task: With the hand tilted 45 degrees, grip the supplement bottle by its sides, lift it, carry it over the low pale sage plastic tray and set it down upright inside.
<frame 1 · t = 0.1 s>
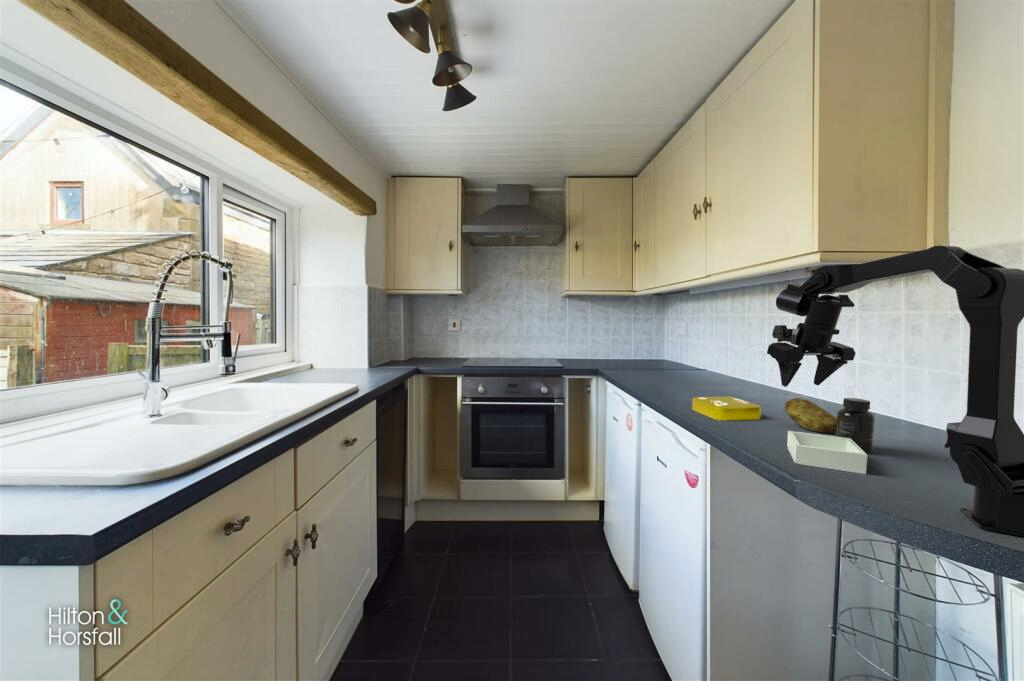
hand: (800, 385, 94), 15 cm above the counter, tool pointing down, fingers open, 9 cm apart
element tile: (724, 415, 127), on the counter
supplement bottle: (853, 449, 95), on the counter
sage tray: (822, 459, 88), on the counter
potato: (809, 429, 111), on the counter
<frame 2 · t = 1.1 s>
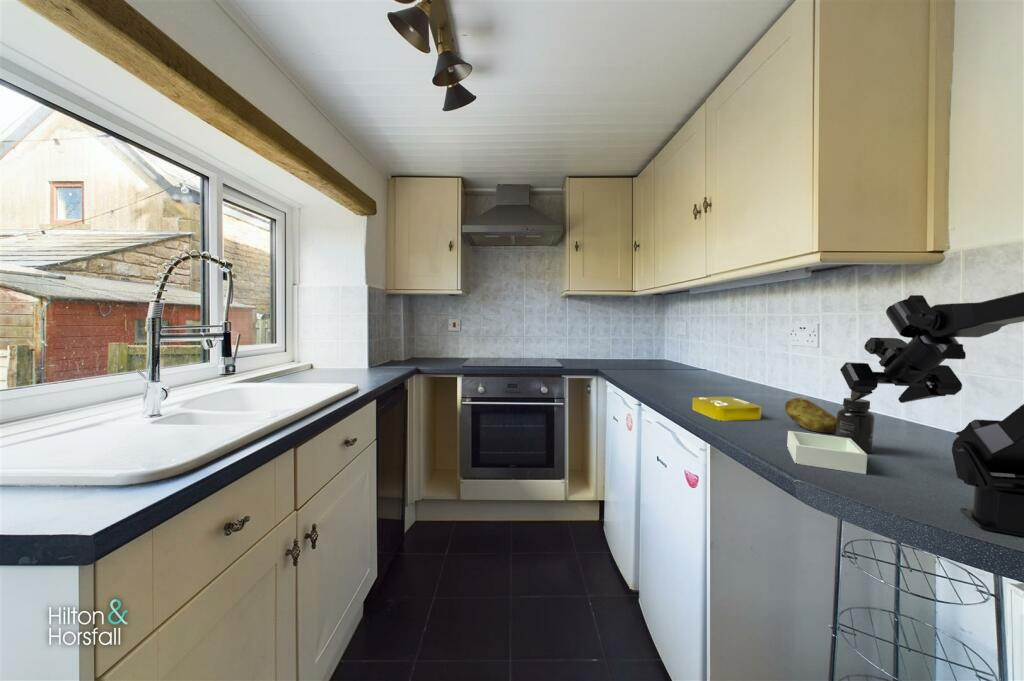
hand: (875, 400, 88), 13 cm above the counter, tool tilted 45°, fingers open, 9 cm apart
nothing on the counter moved.
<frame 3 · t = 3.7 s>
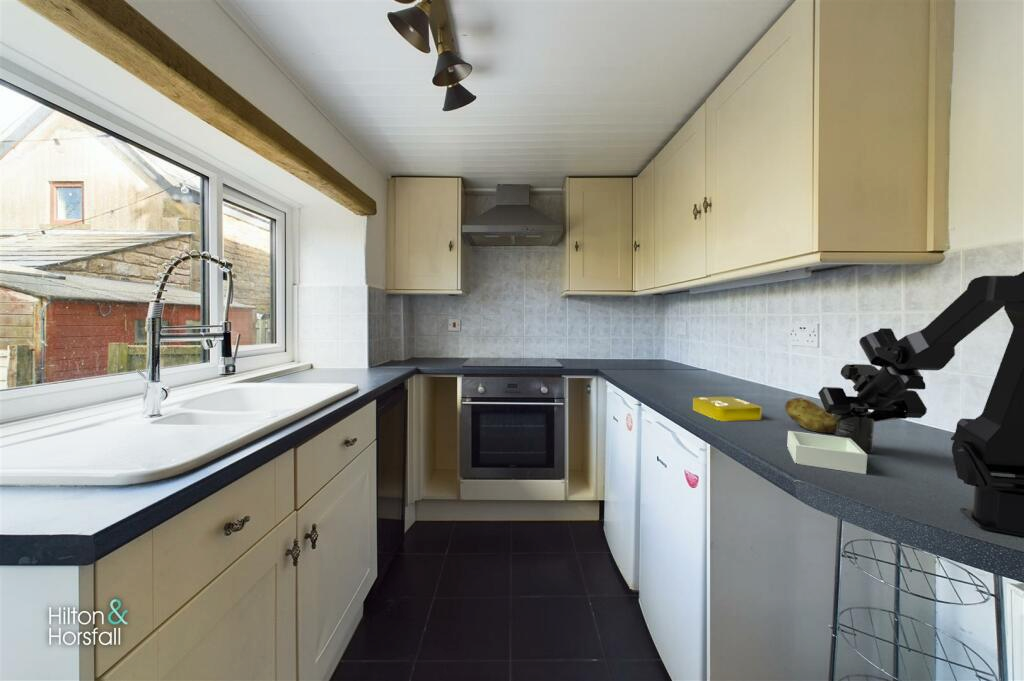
hand: (851, 420, 96), 7 cm above the counter, tool tilted 45°, fingers closed on supplement bottle, 7 cm apart
supplement bottle: (853, 449, 95), on the counter, touching gripper
everything else where it was.
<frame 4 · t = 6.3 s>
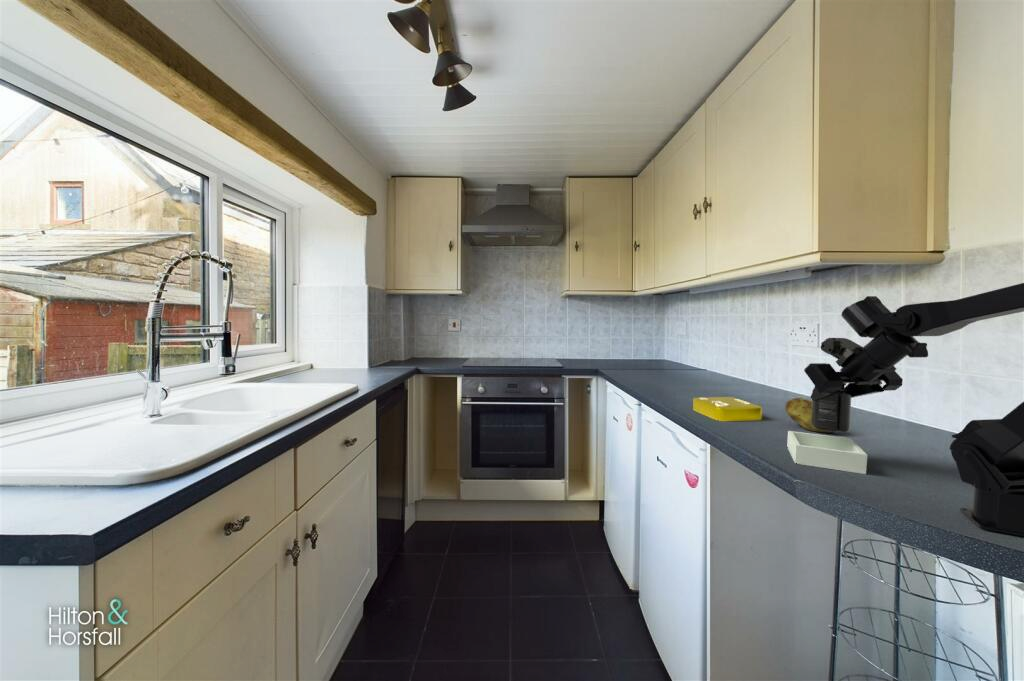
hand: (825, 398, 90), 13 cm above the counter, tool tilted 45°, fingers closed on supplement bottle, 7 cm apart
supplement bottle: (829, 429, 89), point 6 cm above the counter, touching gripper
everything else where it was.
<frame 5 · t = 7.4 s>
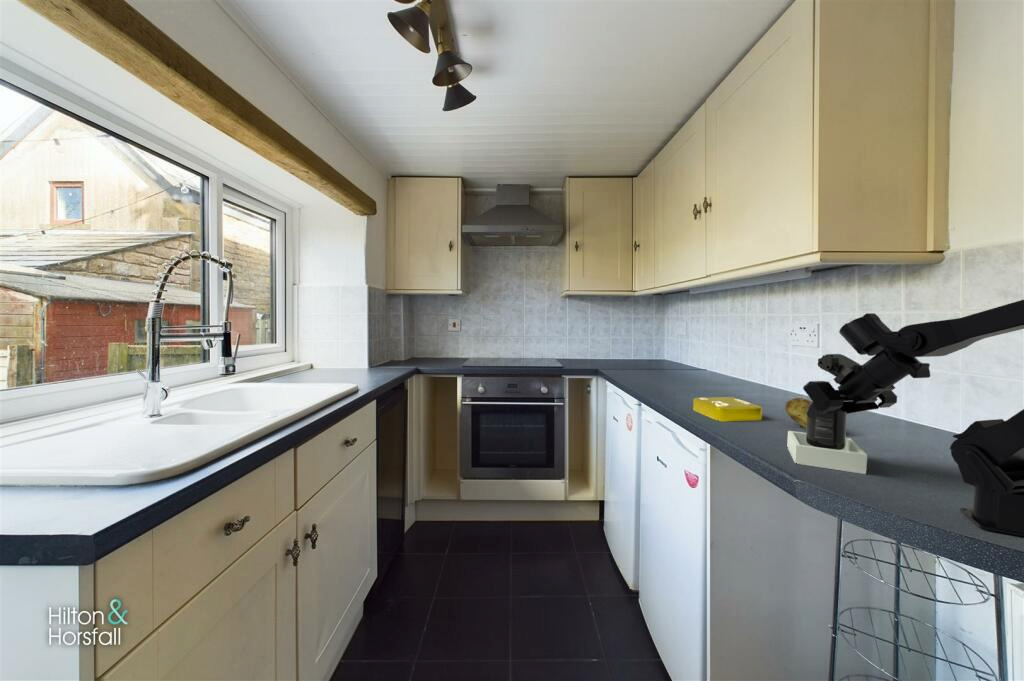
hand: (820, 415, 88), 10 cm above the counter, tool tilted 45°, fingers closed on supplement bottle, 7 cm apart
supplement bottle: (824, 446, 88), point 3 cm above the counter, touching gripper
everything else where it was.
when the fingers open (9 cm above the counter, at t = 8.5 s): supplement bottle drops 1 cm, resting on sage tray.
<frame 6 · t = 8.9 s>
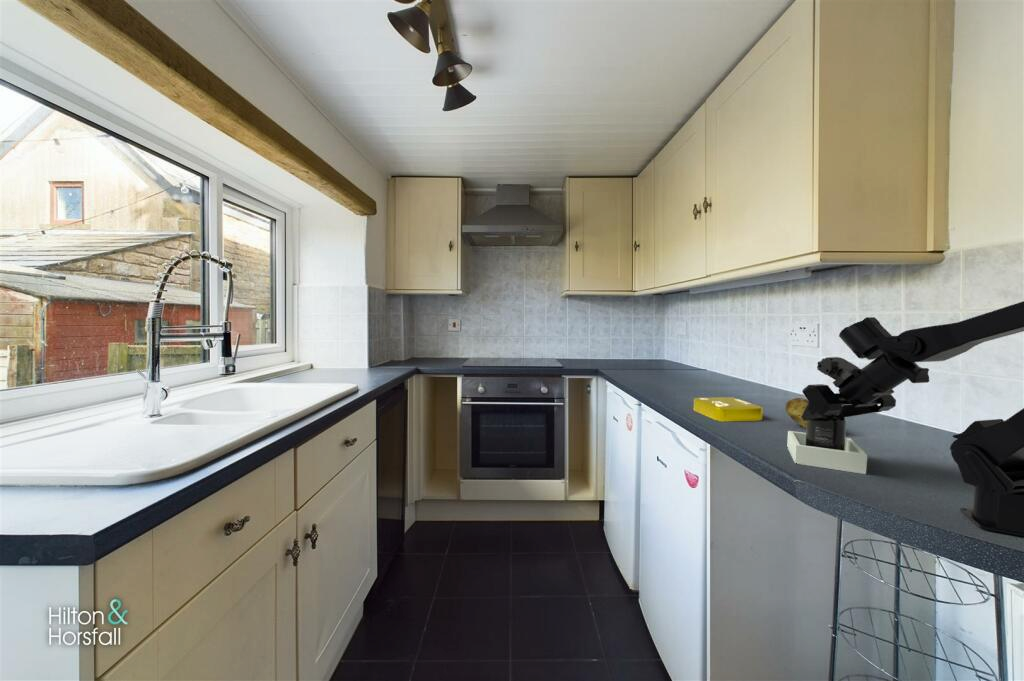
hand: (819, 417, 89), 9 cm above the counter, tool tilted 45°, fingers open, 9 cm apart
supplement bottle: (823, 456, 88), point 1 cm above the counter, touching sage tray
everything else where it was.
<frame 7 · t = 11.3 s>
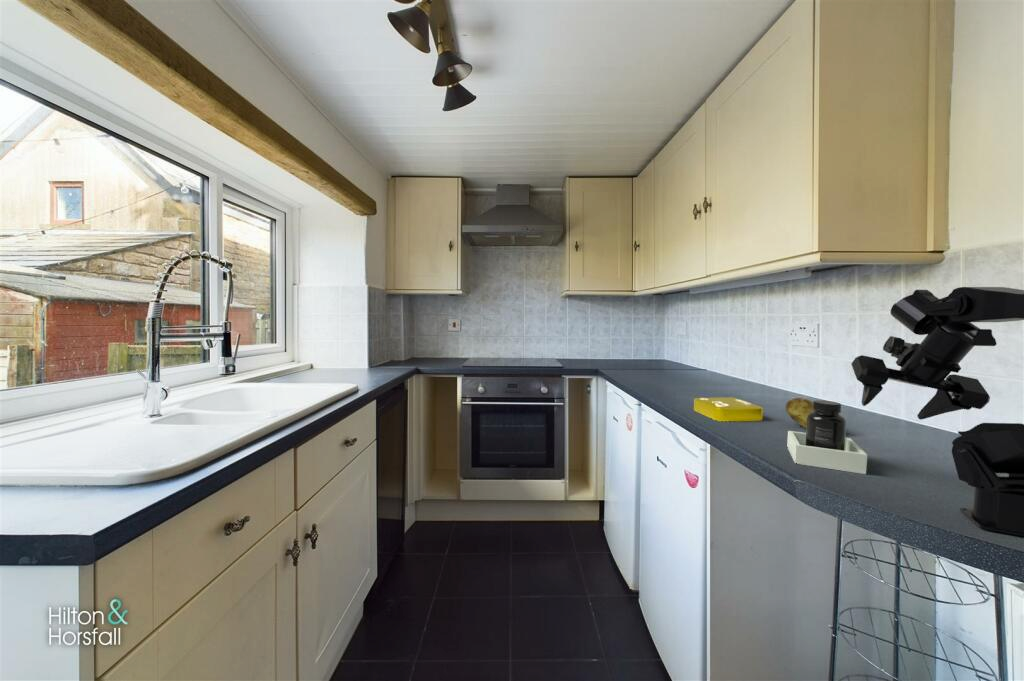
hand: (890, 410, 80), 13 cm above the counter, tool tilted 35°, fingers open, 9 cm apart
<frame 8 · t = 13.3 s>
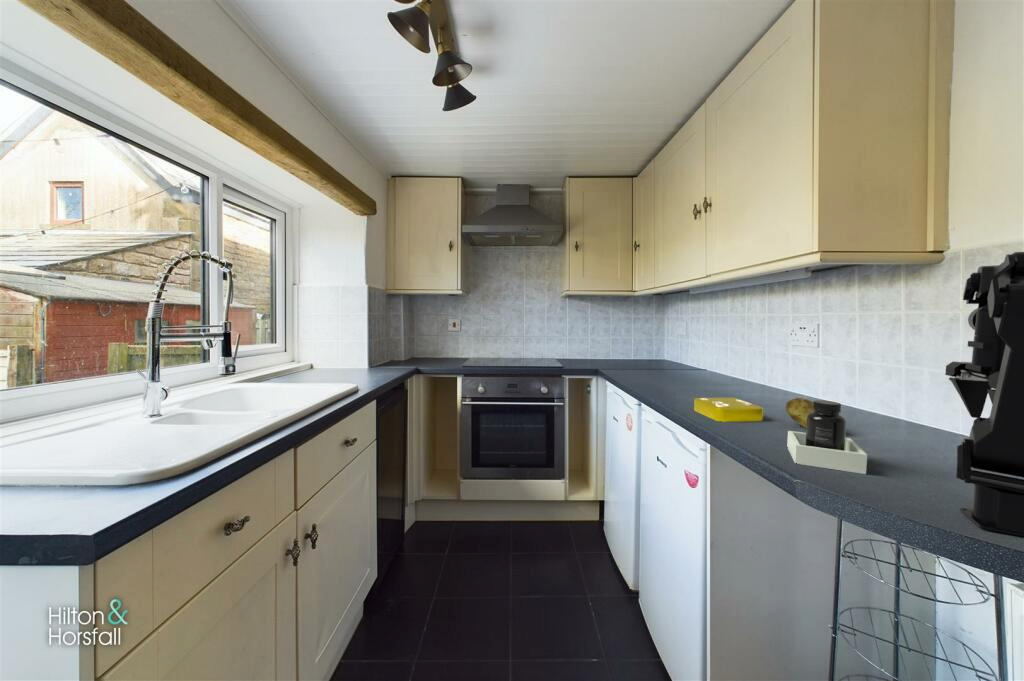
hand: (990, 423, 71), 13 cm above the counter, tool pointing down, fingers open, 9 cm apart
at the end: supplement bottle inside the target area on the sage tray (0.4 cm from its centre), point 0.8 cm above the sage tray's base; supplement bottle tilted 0°; the gripper is holding nothing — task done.
